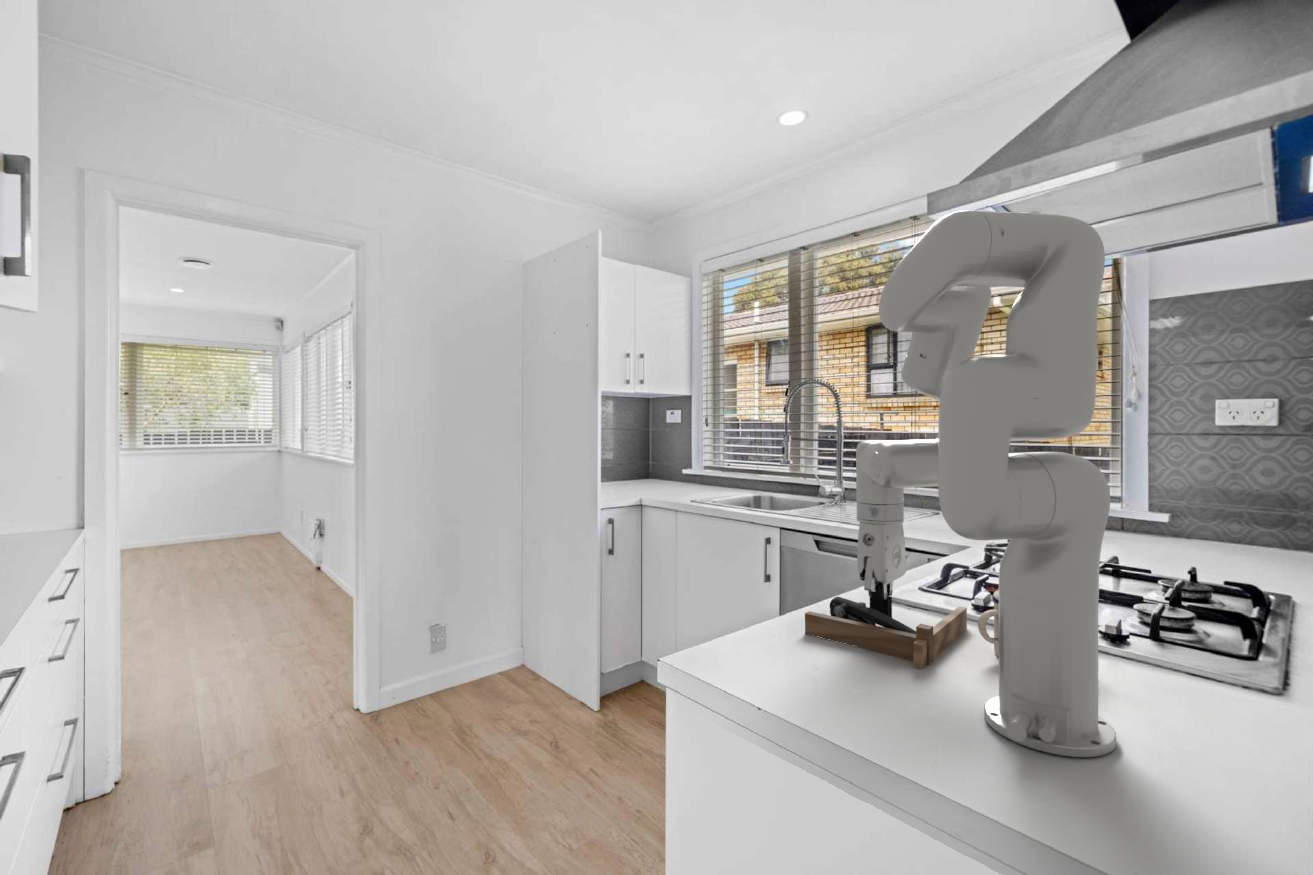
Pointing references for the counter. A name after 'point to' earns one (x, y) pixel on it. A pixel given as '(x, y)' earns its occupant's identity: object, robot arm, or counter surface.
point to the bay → (891, 635)
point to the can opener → (864, 614)
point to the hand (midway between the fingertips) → (880, 619)
